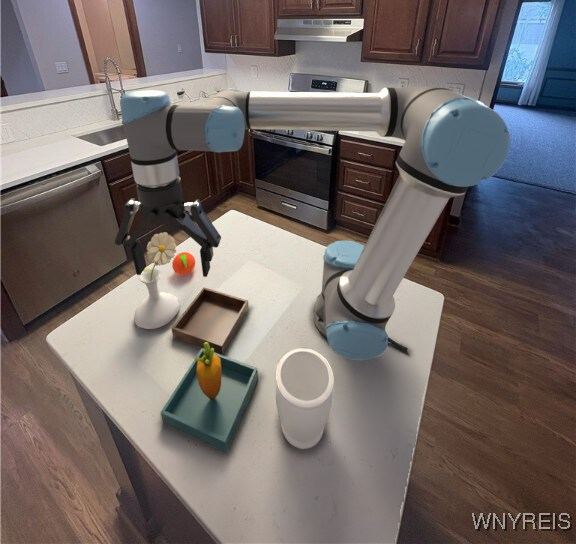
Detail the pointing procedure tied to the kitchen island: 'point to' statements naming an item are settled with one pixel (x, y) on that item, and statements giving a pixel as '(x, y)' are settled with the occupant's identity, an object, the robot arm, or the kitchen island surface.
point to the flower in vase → (157, 304)
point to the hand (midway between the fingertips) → (174, 271)
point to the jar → (303, 395)
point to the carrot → (209, 372)
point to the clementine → (183, 263)
